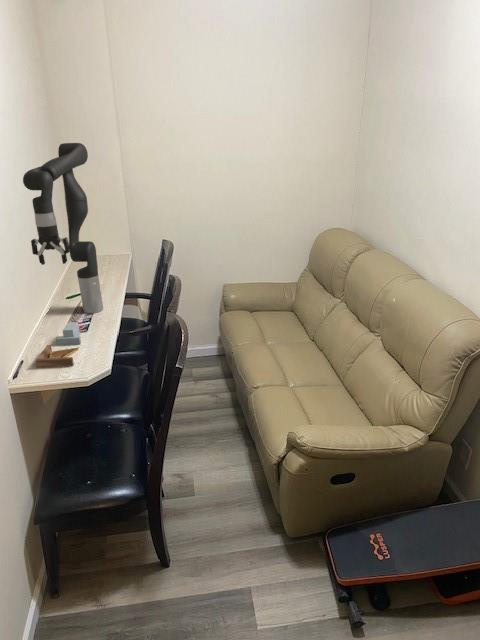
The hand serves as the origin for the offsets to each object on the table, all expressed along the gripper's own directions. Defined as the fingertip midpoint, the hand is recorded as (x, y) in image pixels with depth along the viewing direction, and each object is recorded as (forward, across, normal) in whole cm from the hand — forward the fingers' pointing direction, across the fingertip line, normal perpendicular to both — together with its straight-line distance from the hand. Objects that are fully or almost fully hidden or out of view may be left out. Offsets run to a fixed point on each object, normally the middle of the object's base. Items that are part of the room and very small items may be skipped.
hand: (53, 263), depth 191 cm
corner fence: (+30, -5, +28) cm, 41 cm away
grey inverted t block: (+30, -5, +9) cm, 32 cm away
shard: (+31, -4, +23) cm, 39 cm away
